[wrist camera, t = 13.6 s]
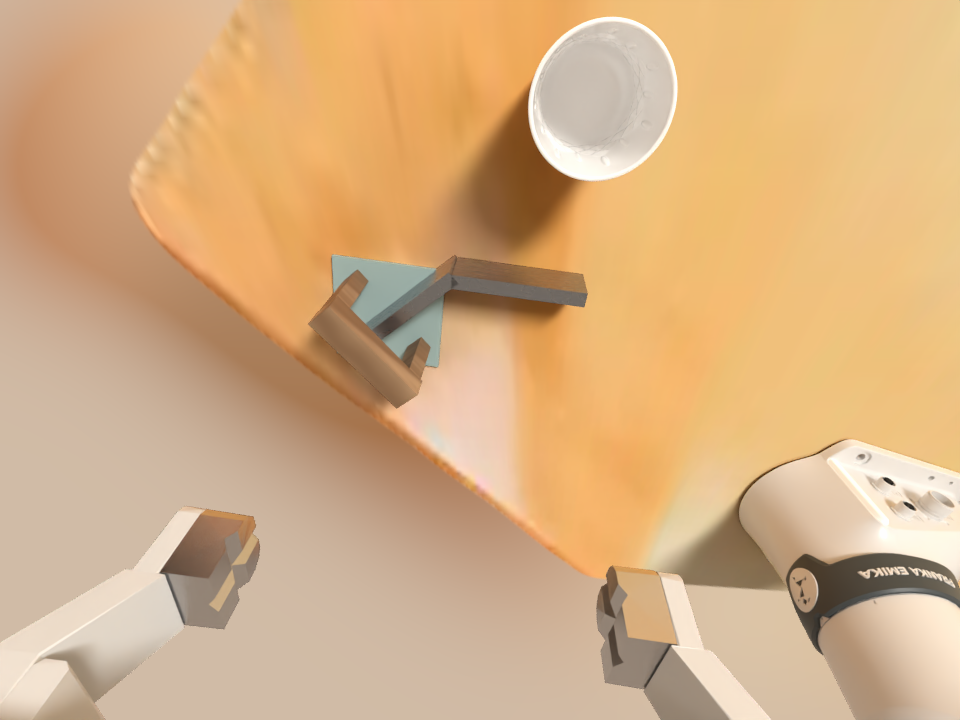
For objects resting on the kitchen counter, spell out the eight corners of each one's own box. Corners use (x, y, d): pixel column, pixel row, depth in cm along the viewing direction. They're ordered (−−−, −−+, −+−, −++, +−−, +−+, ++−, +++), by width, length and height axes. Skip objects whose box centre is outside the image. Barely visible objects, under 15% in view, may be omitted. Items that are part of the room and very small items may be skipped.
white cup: (655, 37, 33) (701, 31, 24) (620, 160, 37) (649, 192, 29) (539, 17, 33) (545, 4, 24) (518, 142, 37) (516, 169, 29)
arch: (359, 267, 43) (329, 307, 36) (433, 345, 47) (417, 395, 40) (341, 282, 44) (307, 324, 37) (414, 358, 48) (396, 408, 41)
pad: (446, 270, 43) (445, 271, 43) (438, 365, 48) (438, 367, 48) (332, 254, 43) (331, 255, 43) (337, 351, 48) (336, 353, 48)
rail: (583, 272, 42) (588, 291, 39) (562, 357, 47) (565, 381, 43) (364, 242, 42) (350, 259, 39) (366, 330, 47) (353, 351, 43)
